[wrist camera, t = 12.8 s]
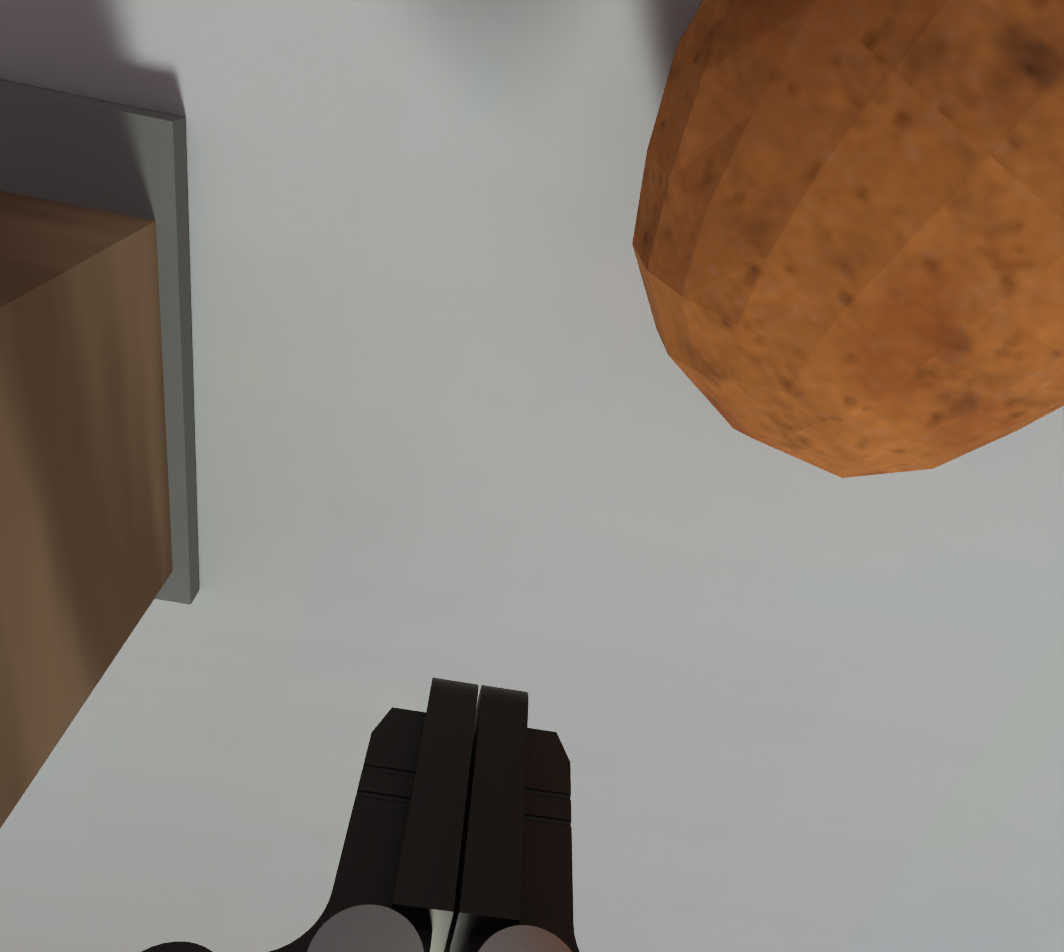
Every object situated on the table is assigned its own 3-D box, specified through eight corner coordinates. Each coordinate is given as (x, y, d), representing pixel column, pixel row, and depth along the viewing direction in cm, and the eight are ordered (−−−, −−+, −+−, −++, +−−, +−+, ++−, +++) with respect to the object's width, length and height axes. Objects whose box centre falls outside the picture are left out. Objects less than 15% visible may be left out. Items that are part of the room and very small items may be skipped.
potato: (1309, -24, 14) (1936, -39, 8) (848, 443, 19) (995, 671, 13) (937, -431, 12) (1399, -948, 5) (520, 224, 17) (496, 367, 10)
